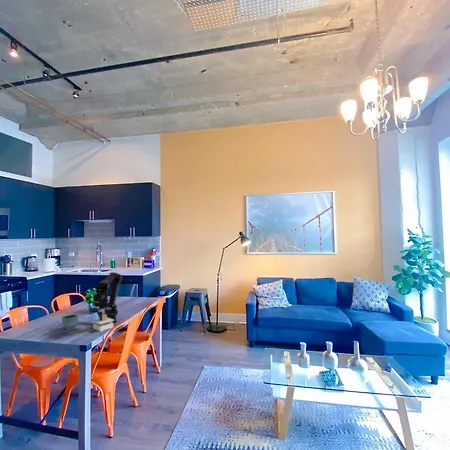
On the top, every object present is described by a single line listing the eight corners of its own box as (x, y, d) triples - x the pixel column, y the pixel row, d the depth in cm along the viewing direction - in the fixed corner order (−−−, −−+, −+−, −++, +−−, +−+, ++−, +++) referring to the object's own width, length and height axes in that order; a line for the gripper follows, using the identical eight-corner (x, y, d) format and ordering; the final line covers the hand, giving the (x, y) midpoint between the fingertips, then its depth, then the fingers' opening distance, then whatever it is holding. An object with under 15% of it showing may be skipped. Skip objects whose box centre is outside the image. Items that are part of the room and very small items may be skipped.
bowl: (105, 325, 212) (106, 320, 212) (113, 328, 206) (113, 322, 206) (93, 329, 204) (93, 323, 204) (100, 332, 198) (100, 326, 198)
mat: (85, 327, 208) (85, 327, 208) (94, 331, 200) (94, 330, 200) (67, 332, 197) (67, 332, 197) (76, 336, 190) (76, 335, 190)
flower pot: (73, 325, 213) (73, 314, 213) (78, 327, 208) (78, 316, 208) (61, 328, 206) (61, 316, 207) (66, 331, 201) (66, 318, 201)
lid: (106, 318, 213) (106, 311, 213) (114, 320, 206) (114, 313, 207) (92, 321, 204) (92, 314, 204) (100, 324, 198) (100, 317, 198)
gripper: (109, 295, 218) (109, 315, 218) (85, 299, 203) (85, 320, 203) (117, 296, 212) (117, 317, 211) (93, 301, 197) (93, 323, 196)
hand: (103, 319), depth 205 cm, fingers closed on lid, 3 cm apart
